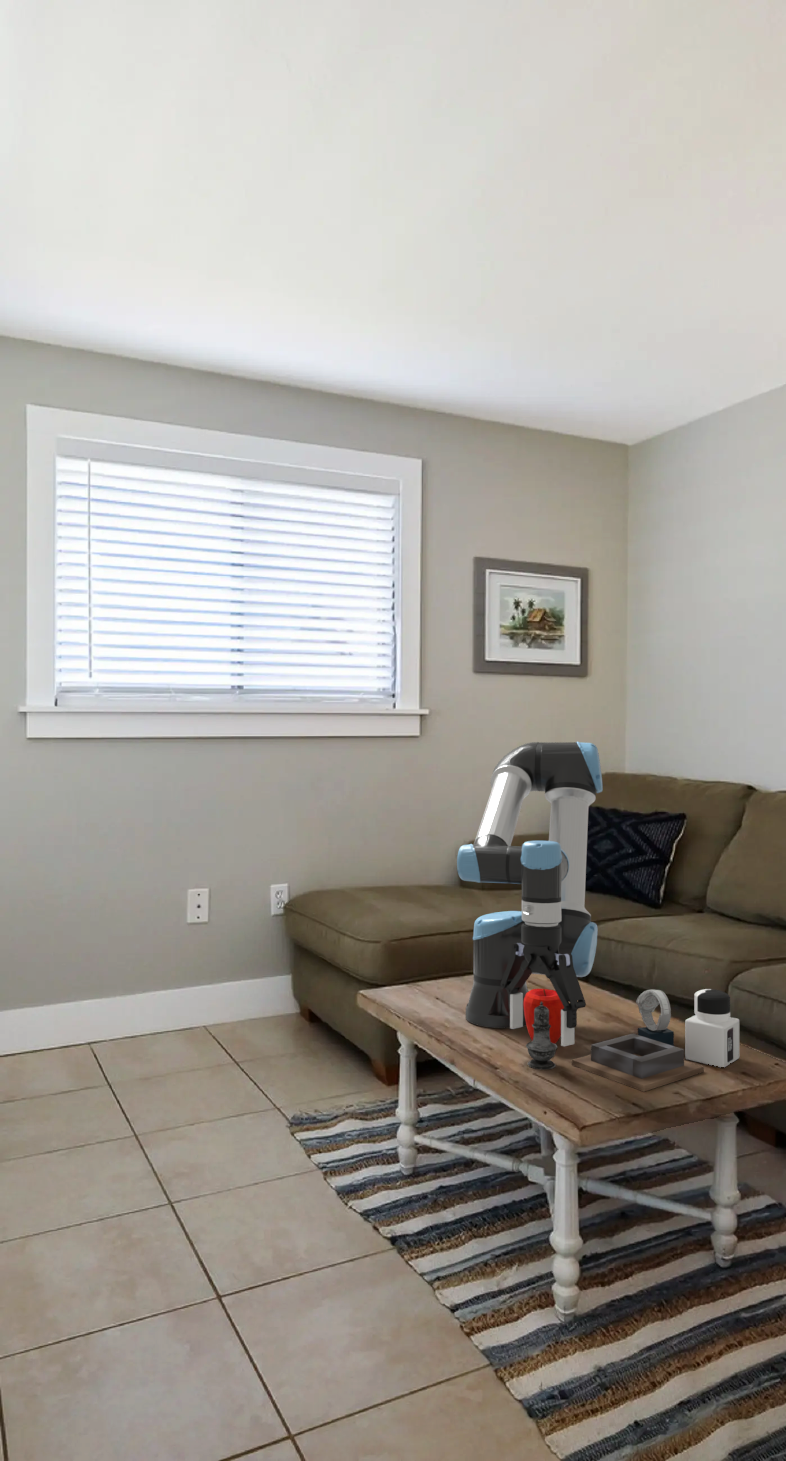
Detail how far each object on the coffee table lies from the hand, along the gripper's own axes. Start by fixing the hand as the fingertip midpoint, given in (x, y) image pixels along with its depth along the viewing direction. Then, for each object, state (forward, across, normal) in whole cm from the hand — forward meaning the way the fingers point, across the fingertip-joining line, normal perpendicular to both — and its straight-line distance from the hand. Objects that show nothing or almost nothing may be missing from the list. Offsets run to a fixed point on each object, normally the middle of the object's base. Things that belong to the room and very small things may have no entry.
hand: (541, 1036), depth 180 cm
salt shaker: (+6, 0, 0) cm, 6 cm away
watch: (+5, +5, +27) cm, 28 cm away
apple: (+6, -9, +10) cm, 15 cm away
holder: (+5, +12, +13) cm, 19 cm away
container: (+6, +17, +29) cm, 34 cm away
